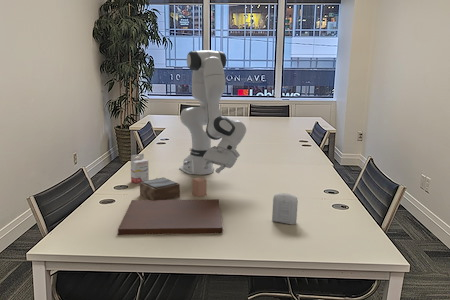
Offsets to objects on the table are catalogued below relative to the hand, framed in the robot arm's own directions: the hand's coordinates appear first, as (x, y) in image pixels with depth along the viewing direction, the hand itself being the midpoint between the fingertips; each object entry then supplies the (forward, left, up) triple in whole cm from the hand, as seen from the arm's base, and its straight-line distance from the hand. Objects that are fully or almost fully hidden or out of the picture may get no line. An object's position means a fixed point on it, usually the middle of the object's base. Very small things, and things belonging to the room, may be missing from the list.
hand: (210, 170), depth 205 cm
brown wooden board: (+17, -34, -12) cm, 40 cm away
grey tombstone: (+50, -1, -12) cm, 51 cm away
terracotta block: (0, -7, -11) cm, 13 cm away
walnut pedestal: (-11, -23, -11) cm, 28 cm away
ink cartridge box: (-39, -18, -12) cm, 45 cm away
